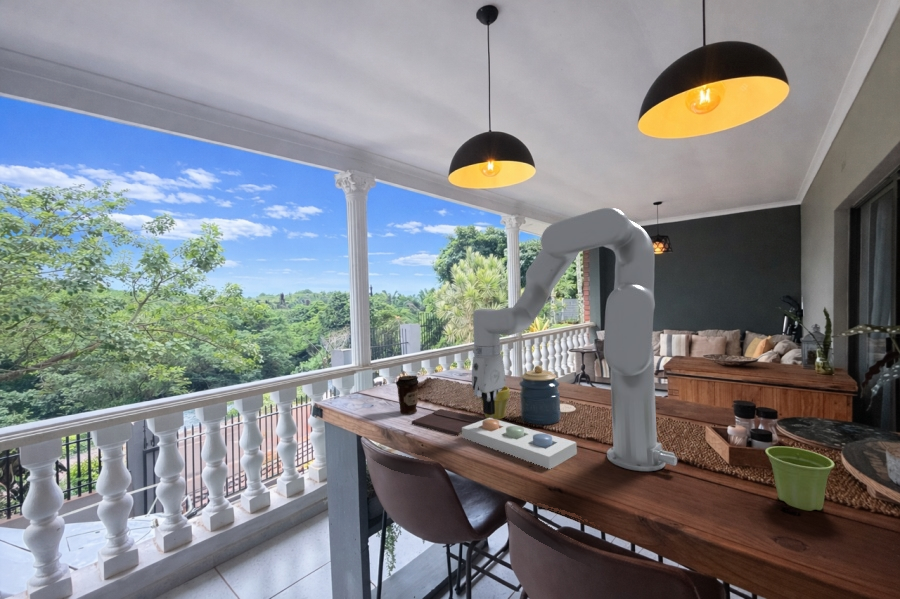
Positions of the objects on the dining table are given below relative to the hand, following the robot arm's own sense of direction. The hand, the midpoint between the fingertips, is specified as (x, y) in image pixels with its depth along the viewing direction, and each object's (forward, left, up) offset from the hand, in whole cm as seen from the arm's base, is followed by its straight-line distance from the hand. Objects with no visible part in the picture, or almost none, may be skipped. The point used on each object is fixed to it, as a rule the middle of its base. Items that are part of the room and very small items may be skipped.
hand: (489, 413), depth 110 cm
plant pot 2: (-65, -14, -7) cm, 67 cm away
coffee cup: (+39, +2, -7) cm, 39 cm away
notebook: (+19, 0, -8) cm, 20 cm away
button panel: (-9, 0, -7) cm, 12 cm away
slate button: (-18, 0, -5) cm, 19 cm away
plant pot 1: (+12, -15, -7) cm, 20 cm away
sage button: (-9, 0, -5) cm, 11 cm away
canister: (-1, -23, -7) cm, 24 cm away
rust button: (0, 0, -5) cm, 5 cm away
